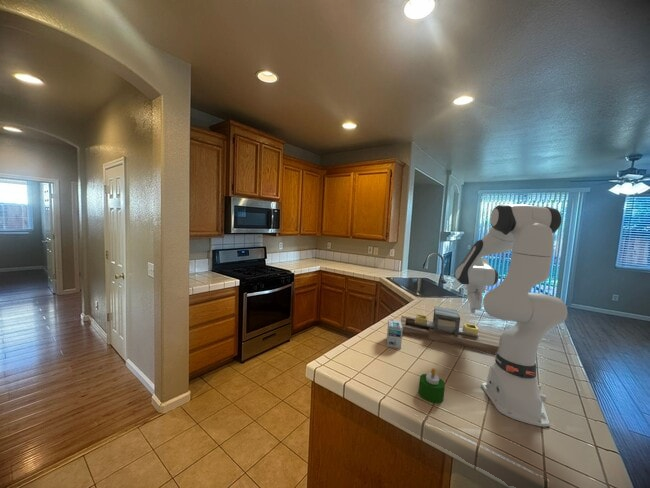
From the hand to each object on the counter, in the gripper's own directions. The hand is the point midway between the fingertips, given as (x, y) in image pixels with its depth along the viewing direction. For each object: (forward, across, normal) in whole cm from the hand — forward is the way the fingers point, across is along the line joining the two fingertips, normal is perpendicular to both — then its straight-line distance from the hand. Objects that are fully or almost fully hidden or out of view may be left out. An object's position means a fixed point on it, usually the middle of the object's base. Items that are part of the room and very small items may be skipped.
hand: (472, 312), depth 138 cm
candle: (+15, -60, +20) cm, 65 cm away
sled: (+12, -1, +12) cm, 17 cm away
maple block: (+12, 0, +12) cm, 17 cm away
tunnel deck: (+16, -1, +9) cm, 19 cm away
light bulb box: (+16, -25, +37) cm, 48 cm away
